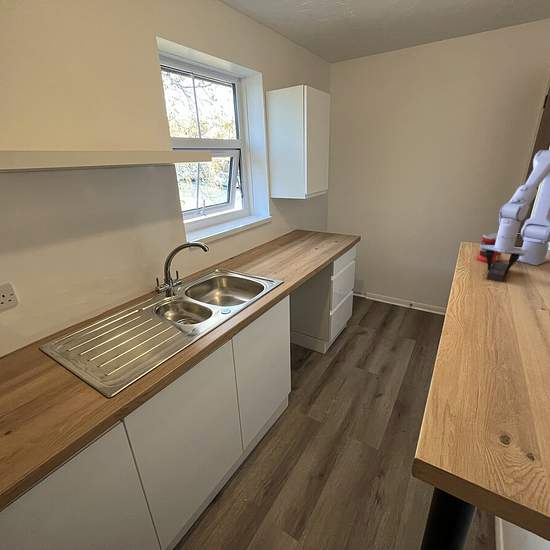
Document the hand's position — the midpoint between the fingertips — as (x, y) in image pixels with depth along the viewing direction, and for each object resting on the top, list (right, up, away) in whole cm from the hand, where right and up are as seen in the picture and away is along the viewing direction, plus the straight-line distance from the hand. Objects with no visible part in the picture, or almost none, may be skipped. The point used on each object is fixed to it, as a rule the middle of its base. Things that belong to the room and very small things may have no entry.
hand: (497, 271), depth 115 cm
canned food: (+7, +5, +14) cm, 16 cm away
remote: (0, -1, +1) cm, 1 cm away
